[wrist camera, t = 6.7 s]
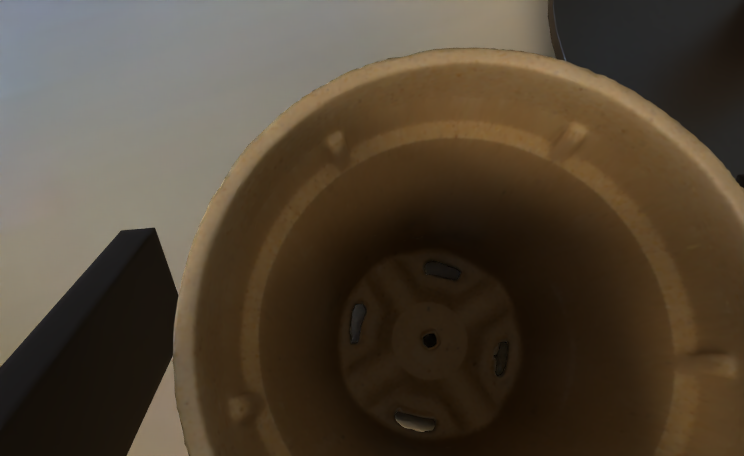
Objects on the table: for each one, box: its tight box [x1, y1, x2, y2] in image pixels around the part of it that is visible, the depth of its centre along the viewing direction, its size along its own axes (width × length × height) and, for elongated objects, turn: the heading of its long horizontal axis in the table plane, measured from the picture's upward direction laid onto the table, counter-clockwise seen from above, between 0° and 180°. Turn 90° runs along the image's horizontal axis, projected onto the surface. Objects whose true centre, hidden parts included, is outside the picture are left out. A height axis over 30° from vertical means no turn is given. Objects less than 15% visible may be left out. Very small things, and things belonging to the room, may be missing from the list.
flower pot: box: [173, 48, 744, 456], centre depth 11 cm, size 9×9×9 cm
